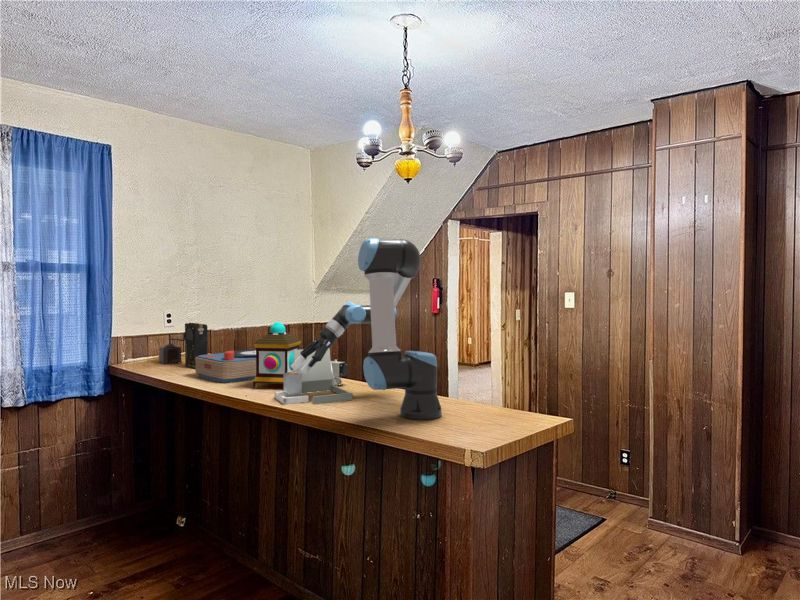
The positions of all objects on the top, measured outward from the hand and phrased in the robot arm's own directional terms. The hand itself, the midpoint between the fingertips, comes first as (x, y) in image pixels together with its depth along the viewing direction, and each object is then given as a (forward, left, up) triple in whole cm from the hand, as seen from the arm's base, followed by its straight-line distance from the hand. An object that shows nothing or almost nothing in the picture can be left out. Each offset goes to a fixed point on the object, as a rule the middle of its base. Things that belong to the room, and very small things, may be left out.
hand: (297, 370), depth 231 cm
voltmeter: (+111, +25, -12) cm, 114 cm away
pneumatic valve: (+23, -26, -12) cm, 36 cm away
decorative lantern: (+33, -1, -12) cm, 35 cm away
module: (-1, +2, -12) cm, 12 cm away
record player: (+72, +6, -12) cm, 73 cm away
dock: (0, +2, -12) cm, 12 cm away
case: (+1, -11, -12) cm, 17 cm away
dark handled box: (+137, +34, -12) cm, 141 cm away
